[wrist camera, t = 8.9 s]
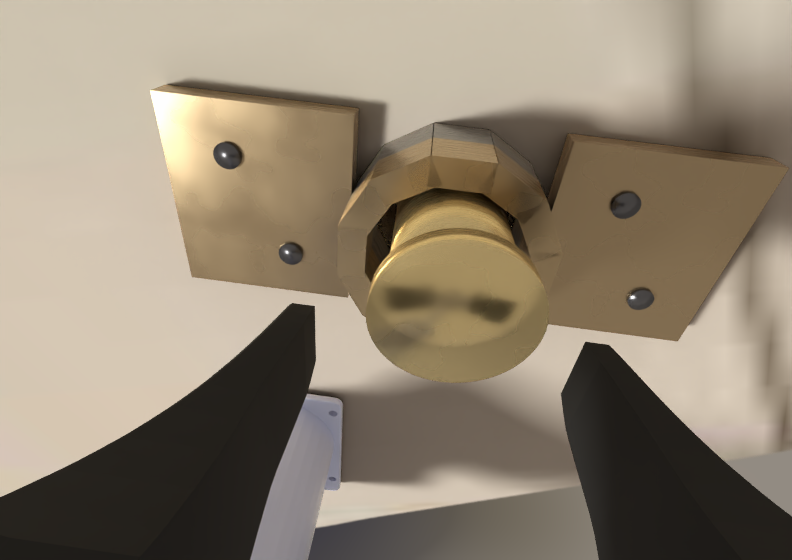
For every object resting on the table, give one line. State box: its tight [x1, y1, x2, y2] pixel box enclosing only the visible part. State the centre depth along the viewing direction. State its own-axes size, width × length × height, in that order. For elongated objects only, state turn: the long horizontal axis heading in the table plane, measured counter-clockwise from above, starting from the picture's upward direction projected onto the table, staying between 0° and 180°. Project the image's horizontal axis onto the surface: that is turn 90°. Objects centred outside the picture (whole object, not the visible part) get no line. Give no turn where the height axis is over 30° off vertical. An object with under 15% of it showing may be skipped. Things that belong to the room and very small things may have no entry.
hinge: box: [150, 85, 789, 341], centre depth 17 cm, size 8×22×4 cm, turn 85°
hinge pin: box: [366, 188, 549, 383], centre depth 15 cm, size 5×5×7 cm
